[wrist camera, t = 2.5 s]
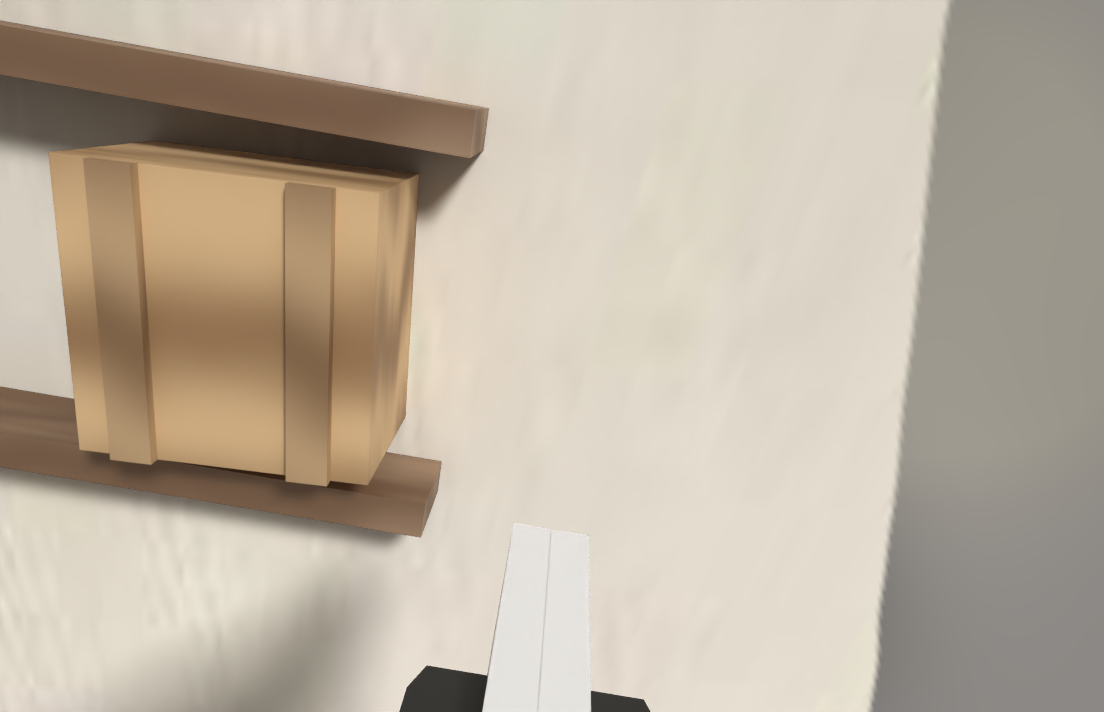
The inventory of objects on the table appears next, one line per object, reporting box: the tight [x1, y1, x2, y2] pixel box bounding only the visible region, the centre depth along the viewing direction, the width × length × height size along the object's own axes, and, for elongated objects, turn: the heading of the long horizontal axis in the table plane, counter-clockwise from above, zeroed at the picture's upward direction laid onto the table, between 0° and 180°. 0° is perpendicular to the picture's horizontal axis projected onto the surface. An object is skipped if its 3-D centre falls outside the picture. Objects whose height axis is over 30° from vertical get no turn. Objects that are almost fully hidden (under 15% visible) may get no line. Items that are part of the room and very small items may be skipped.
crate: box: [48, 141, 419, 486], centre depth 27 cm, size 10×10×6 cm
